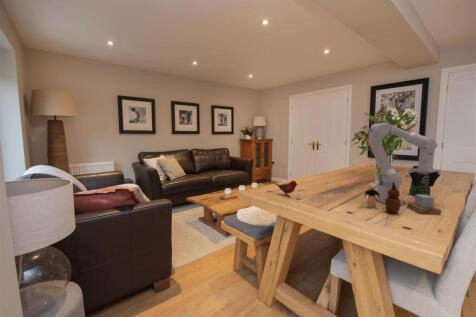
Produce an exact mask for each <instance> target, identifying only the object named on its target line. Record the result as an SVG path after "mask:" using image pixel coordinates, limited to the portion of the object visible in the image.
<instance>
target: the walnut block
mask: <svg viewBox="0 0 476 317" xmlns="http://www.w3.org/2000/svg"><path fill="white" fill-rule="evenodd" d="M406 208H407V209H409V210H411V211H413V212H415V213H417V214H418V215H431V216H432V215H433V216H434V215H435V216H441V213H442V209H440V208H438V207H436V206H434V205H433V208H422V207H419V206H417V205H415V204H414V202H407V207H406Z"/></svg>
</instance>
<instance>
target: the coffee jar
mask: <svg viewBox="0 0 476 317" xmlns="http://www.w3.org/2000/svg"><path fill="white" fill-rule="evenodd" d="M416 168H418V165H413V166H412V168H411V169H416ZM432 169H434V168H433V167H432ZM422 172H425V171H422ZM418 174H420V176H419V179H418V185H417V186H414V185H413V181H412V180H411V183H410V187H409V192H408V194H410V195H411V196H414V197H415V194H419V195H428V196H431V186H429V175H428V173H418Z"/></svg>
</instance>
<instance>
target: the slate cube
mask: <svg viewBox="0 0 476 317" xmlns="http://www.w3.org/2000/svg"><path fill="white" fill-rule="evenodd" d="M434 201H435V197H433V196H431V195H430V196H428V195H419V194H415V196H414V202H413V203H414V204H415V205H417V206H419V207H422V208H433V206H434Z"/></svg>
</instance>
